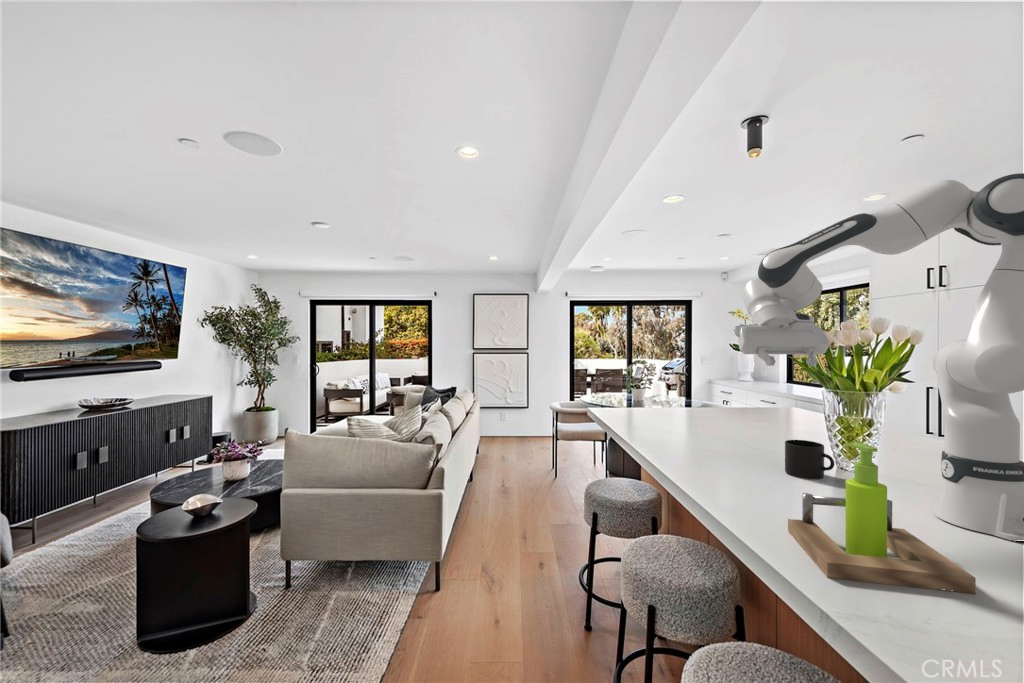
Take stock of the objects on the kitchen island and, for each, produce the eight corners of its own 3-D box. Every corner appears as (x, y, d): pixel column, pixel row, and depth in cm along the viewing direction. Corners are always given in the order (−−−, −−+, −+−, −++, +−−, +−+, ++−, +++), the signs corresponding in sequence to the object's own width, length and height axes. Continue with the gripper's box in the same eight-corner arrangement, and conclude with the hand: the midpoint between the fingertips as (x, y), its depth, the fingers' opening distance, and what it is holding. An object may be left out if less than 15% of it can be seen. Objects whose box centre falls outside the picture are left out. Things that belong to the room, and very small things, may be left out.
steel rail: (888, 527, 86) (889, 499, 86) (894, 531, 85) (894, 502, 85) (800, 519, 90) (801, 492, 90) (804, 523, 88) (804, 496, 88)
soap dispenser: (863, 545, 85) (863, 440, 84) (896, 563, 78) (896, 449, 77) (833, 545, 84) (833, 440, 84) (863, 564, 77) (863, 450, 77)
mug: (828, 484, 119) (828, 450, 119) (779, 473, 129) (779, 442, 128) (839, 477, 125) (839, 445, 125) (792, 467, 134) (792, 438, 134)
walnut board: (903, 541, 86) (903, 528, 86) (975, 593, 68) (975, 577, 68) (787, 531, 91) (787, 519, 91) (827, 577, 73) (827, 562, 73)
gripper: (735, 316, 116) (750, 355, 106) (819, 315, 113) (843, 355, 104) (728, 333, 120) (743, 372, 111) (809, 333, 118) (831, 373, 108)
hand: (792, 364), depth 107 cm, fingers open, 8 cm apart
